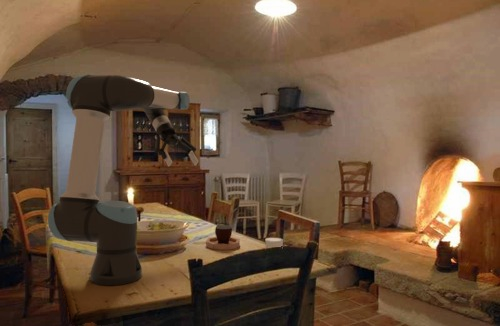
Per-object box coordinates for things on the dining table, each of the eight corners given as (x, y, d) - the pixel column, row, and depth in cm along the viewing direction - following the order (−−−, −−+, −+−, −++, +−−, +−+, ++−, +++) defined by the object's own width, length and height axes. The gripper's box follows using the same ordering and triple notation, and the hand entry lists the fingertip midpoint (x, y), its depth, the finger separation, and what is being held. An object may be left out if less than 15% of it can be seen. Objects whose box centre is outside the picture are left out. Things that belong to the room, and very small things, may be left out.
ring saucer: (219, 252, 151) (219, 246, 151) (199, 244, 161) (199, 239, 161) (246, 246, 160) (246, 241, 160) (225, 239, 171) (225, 235, 171)
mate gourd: (211, 242, 161) (212, 207, 161) (225, 239, 167) (226, 205, 166) (223, 246, 156) (224, 209, 156) (237, 242, 162) (238, 207, 161)
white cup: (281, 260, 141) (282, 242, 141) (263, 259, 143) (263, 240, 143) (283, 255, 148) (284, 237, 148) (266, 254, 150) (266, 236, 149)
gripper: (183, 135, 182) (202, 169, 172) (135, 133, 164) (154, 170, 154) (190, 124, 178) (210, 157, 168) (142, 120, 160) (162, 157, 150)
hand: (183, 163), depth 161 cm, fingers open, 13 cm apart
